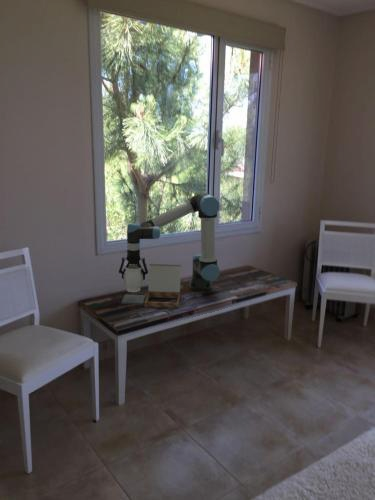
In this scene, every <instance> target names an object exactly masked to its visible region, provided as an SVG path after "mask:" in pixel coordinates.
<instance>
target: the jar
mask: <svg viewBox="0 0 375 500" xmlns="http://www.w3.org/2000/svg"><path fill="white" fill-rule="evenodd" d="M141 268H143V266H142V267H141ZM141 268H139V267H138V266H137V264H136V265H134V264H129V266H128V268H127V267H126V265H125V266H124V269H126V271H125V272H124V273H125V281H126V283H125V286H126V291H127V292H129V293H138V292H140V291H141V286H142V272H141Z"/></svg>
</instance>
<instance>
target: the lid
mask: <svg viewBox="0 0 375 500" xmlns="http://www.w3.org/2000/svg"><path fill="white" fill-rule="evenodd" d="M181 271H182V265H181V264H162V263H161V264H159V263H149V265H148V292H163V293H180V292H181V277H182V276H181V275H182V272H181Z"/></svg>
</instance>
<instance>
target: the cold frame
mask: <svg viewBox="0 0 375 500" xmlns="http://www.w3.org/2000/svg"><path fill="white" fill-rule="evenodd" d="M180 295H181V293H180V292H156V291H148V292H147V294H146V297H145V300H144V308H168V309H169V308H170V309H179V306H180V299H181V298H180V297H181V296H180ZM150 298H167V299H176V302H167V301H164V302H163V301H149V299H150Z"/></svg>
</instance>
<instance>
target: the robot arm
mask: <svg viewBox="0 0 375 500" xmlns="http://www.w3.org/2000/svg"><path fill="white" fill-rule="evenodd" d="M220 208H221V207H220V202H219V200H218V198H216V197H215V195H211V194H208V193H206V192H200V193H198V194H196V195H193V196H191V197H189V198H187V199H186V200H185V202H183V203H181V204H179V205H177V206H175V207H173V208H171V209H169V210H166V211H165V212H162V213H161V214H160V215H157V216H155V217H153V218H151V219H148V220H147V221H146V220H145V221H142V222H140V223H137V222H131V223H128V224H127V226H126V248H127V250H126V251H127V252H126V256H123V257H121V264H120V267H119V269H118V273H119V274H121V279H122V280H123V286H124V285H125V286H126V281H125V271H126V269H125V268H124V265H125V262H126V260H127V262H128V263H127V264H126V265H125V266H126V267H127V268H128V266H129V265H137V266H138V267H139V268H141V267H142V268H141V272H142V281H141V286H144V281H145V280H146V275H149V269H148V267H147V263H146V258H145V257H141V251H140V249H141V240H157V239H160V237H161V228H163V227H165V226H167V225H169V224H172V223H174V222H175V221H178V220H179V219H181V218H183V217H186V216H187V215H190V214H195V213H197V212H198V213H197V216H198V219H199V220H200V244H201V245H200V249H201V250H200V252H201V253H197V254H196V253H195V254H193V256H192V275H191V279H190V282H189V284H188V285H189V289H191V290H193V291H197V292H205V291H207V292H208V291H210V290H212V286H213V285H212V281H215V280H216V279H217V278H218V277H219V276H220V268H219V266H218V258H217V257H216V253H215V252H216V249H215V248H216V238H215V237H216V236H215V235H216V234H215V232H216V229H215V228H216V227H215V220H216V219H217V217H218V212H219V210H220ZM141 263H142V265H141ZM123 268H124V269H123Z"/></svg>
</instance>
